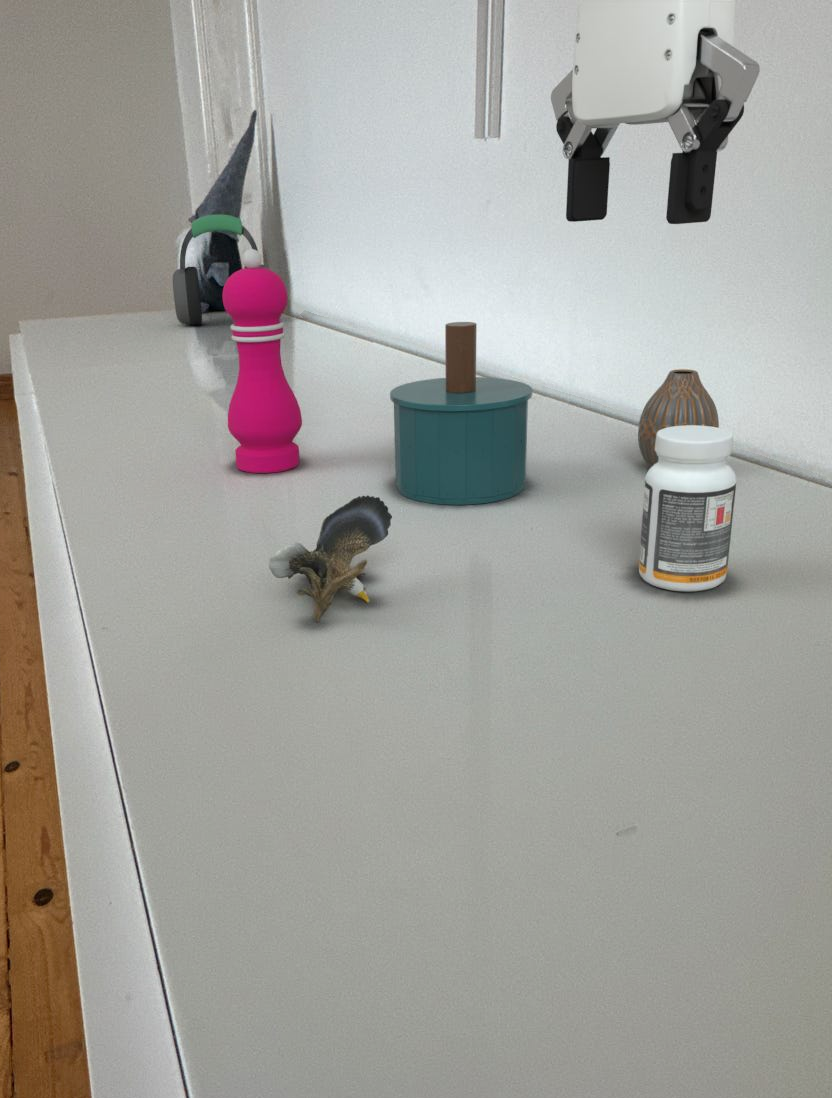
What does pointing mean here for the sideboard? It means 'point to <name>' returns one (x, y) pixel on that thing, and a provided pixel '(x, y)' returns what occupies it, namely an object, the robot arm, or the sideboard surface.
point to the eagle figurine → (336, 552)
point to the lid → (461, 380)
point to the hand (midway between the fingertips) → (634, 221)
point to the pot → (460, 454)
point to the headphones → (188, 277)
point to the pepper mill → (260, 371)
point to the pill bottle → (688, 509)
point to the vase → (675, 409)
